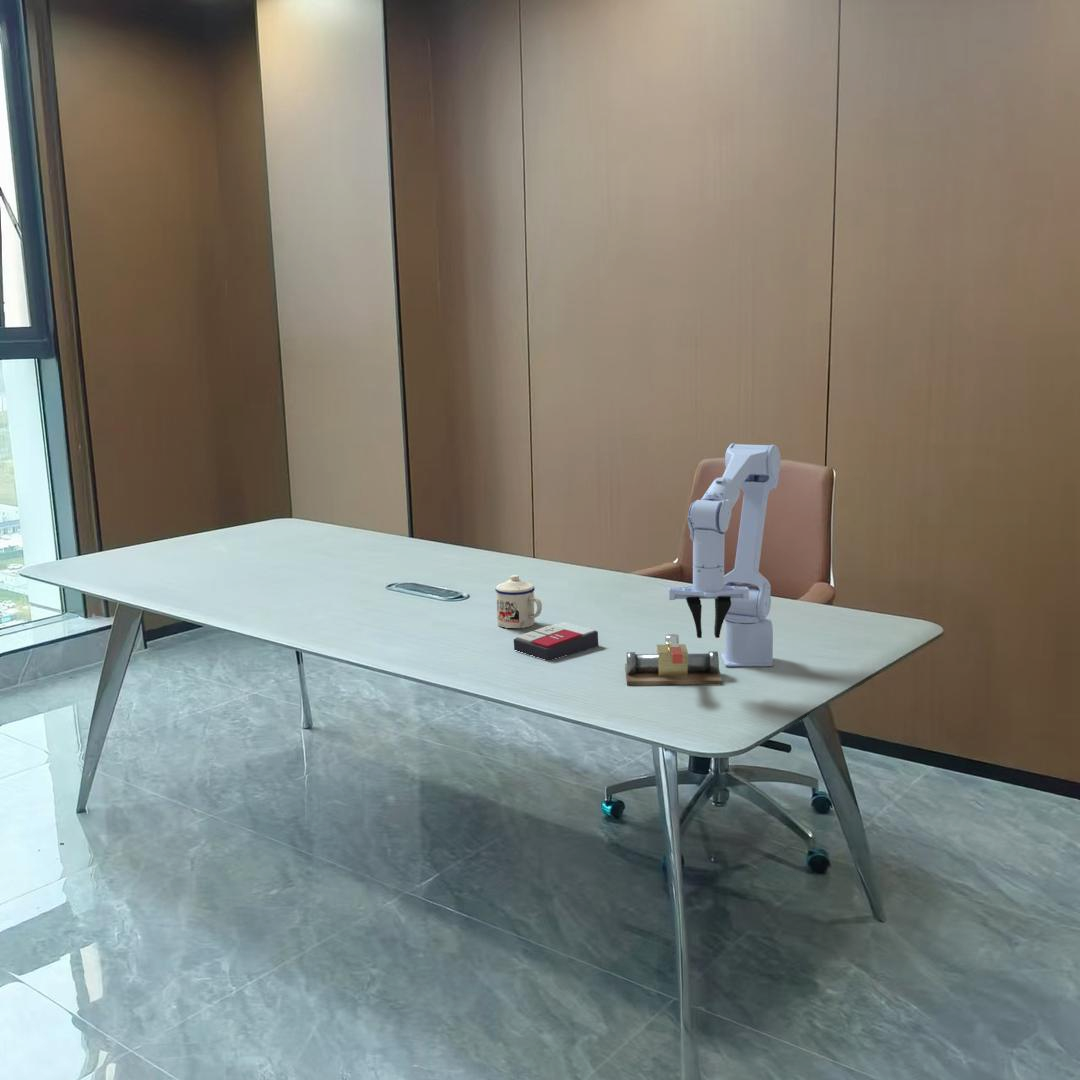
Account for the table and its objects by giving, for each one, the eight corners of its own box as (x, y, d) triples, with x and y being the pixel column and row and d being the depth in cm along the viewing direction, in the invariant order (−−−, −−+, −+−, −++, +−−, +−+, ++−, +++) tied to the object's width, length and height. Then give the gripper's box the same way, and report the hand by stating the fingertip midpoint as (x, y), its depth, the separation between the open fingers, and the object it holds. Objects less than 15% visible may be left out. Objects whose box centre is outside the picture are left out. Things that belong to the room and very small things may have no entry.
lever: (678, 641, 209) (678, 632, 209) (684, 663, 195) (684, 654, 195) (664, 641, 209) (664, 632, 209) (670, 663, 195) (670, 654, 195)
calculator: (512, 635, 228) (563, 618, 237) (513, 654, 229) (564, 637, 238) (546, 645, 220) (598, 627, 229) (548, 665, 221) (599, 646, 230)
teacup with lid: (488, 626, 248) (486, 577, 246) (513, 617, 255) (511, 569, 253) (529, 633, 241) (528, 583, 239) (553, 624, 248) (552, 575, 246)
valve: (715, 669, 211) (716, 640, 210) (718, 677, 206) (719, 648, 205) (626, 670, 212) (626, 641, 211) (627, 678, 207) (627, 649, 206)
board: (715, 666, 214) (715, 662, 214) (721, 684, 203) (721, 680, 203) (625, 667, 215) (624, 663, 215) (627, 685, 204) (626, 681, 204)
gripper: (670, 570, 192) (670, 642, 195) (751, 569, 192) (750, 642, 194) (667, 561, 199) (667, 632, 202) (745, 560, 199) (745, 631, 201)
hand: (708, 636), depth 199 cm, fingers open, 3 cm apart
